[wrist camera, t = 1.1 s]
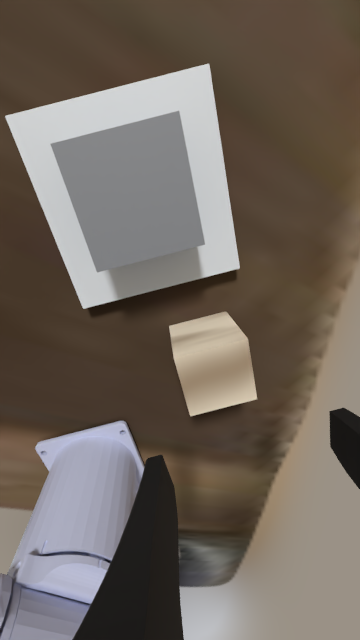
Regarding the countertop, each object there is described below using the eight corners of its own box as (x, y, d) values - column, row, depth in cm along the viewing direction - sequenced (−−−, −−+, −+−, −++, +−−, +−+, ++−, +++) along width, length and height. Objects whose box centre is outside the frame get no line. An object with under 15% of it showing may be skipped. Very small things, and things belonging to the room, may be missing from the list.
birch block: (234, 360, 22) (257, 399, 17) (182, 374, 22) (190, 416, 17) (225, 311, 20) (247, 338, 15) (169, 325, 20) (173, 357, 15)
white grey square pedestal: (235, 265, 19) (256, 277, 15) (86, 304, 19) (70, 325, 15) (205, 73, 14) (223, 23, 11) (14, 122, 14) (-34, 89, 11)
